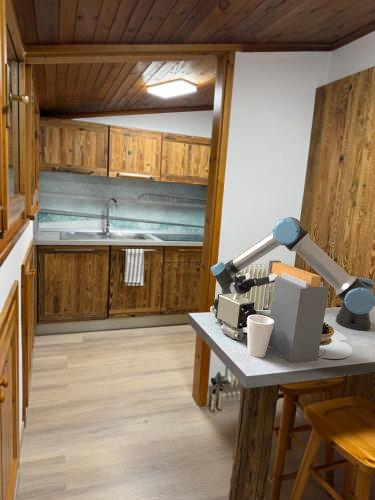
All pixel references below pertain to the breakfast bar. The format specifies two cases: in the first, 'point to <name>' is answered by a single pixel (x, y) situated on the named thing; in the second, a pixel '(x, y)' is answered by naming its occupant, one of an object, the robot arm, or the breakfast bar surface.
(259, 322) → the foam cup
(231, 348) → the breakfast bar surface
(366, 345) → the breakfast bar surface
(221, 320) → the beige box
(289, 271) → the orange bar
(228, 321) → the ball valve
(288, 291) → the charcoal stand
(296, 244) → the robot arm
